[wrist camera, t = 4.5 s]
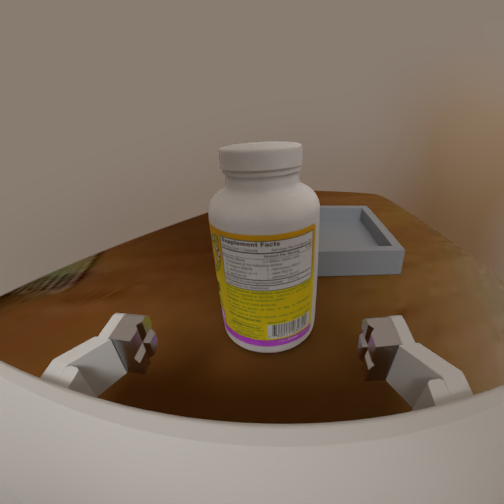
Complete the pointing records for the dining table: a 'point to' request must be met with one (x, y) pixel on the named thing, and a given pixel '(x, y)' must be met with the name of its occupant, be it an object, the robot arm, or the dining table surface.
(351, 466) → the robot arm
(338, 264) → the tray
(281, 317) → the supplement bottle
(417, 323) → the dining table surface
